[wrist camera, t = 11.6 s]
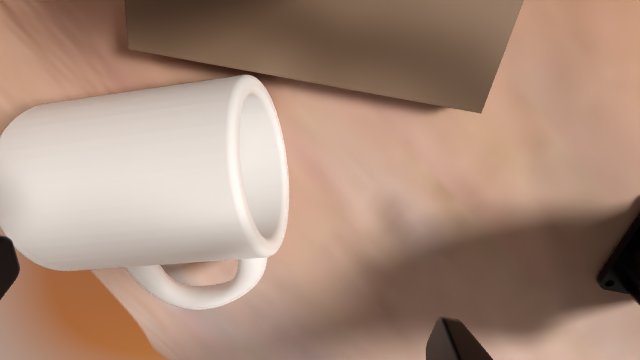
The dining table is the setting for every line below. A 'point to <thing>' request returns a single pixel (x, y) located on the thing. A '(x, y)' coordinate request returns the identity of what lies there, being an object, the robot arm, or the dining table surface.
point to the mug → (150, 184)
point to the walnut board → (340, 42)
